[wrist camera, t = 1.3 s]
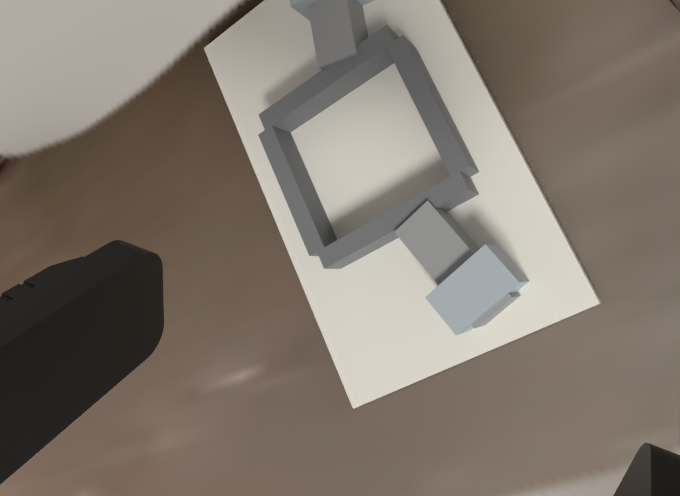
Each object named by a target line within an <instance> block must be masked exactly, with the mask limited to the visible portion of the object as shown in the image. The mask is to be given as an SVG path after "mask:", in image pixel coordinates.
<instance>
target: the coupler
mask: <svg viewBox="0 0 680 496" xmlns="http://www.w3.org/2000/svg"><path fill="white" fill-rule="evenodd" d="M672 1H673V3H674V4H675V5H676V7H677V8H678V9H679V10H680V0H672Z"/></svg>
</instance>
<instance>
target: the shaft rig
mask: <svg viewBox="0 0 680 496" xmlns="http://www.w3.org/2000/svg"><path fill="white" fill-rule="evenodd" d="M204 50H205V52H206V55H207V57H208V60H209V62H210V64H211V67H212V69H213V72H214V74H215V77H216V79H217V81H218V84H219V86H220V89H221V91H222V93H223V96H224V98H225V101H226V103H227V105H228V108H229V110H230V113H231V115H232V118H233V120H234V122H235V125H236V127H237V130H238V132H239V134H240V137H241V139H242V142H243V144H244V147H245V149H246V151H247V154H248V156H249V159H250V161H251V163H252V166H253V168H254V171H255V173H256V175H257V178H258V180H259V183H260V185H261V188H262V190H263V192H264V195H265V197H266V200H267V202H268V204H269V207H270V209H271V212H272V214H273V216H274V219H275V221H276V224H277V226H278V229H279V231H280V233H281V236H282V238H283V241H284V243H285V245H286V248H287V250H288V253H289V255H290V258H291V260H292V262H293V265H294V267H295V270H296V272H297V274H298V277H299V279H300V282H301V284H302V286H303V289H304V291H305V294H306V296H307V299H308V301H309V303H310V306H311V308H312V311H313V313H314V315H315V318H316V320H317V323H318V325H319V327H320V330H321V332H322V335H323V337H324V340H325V342H326V344H327V347H328V349H329V352H330V354H331V356H332V359H333V361H334V364H335V366H336V368H337V371H338V373H339V376H340V378H341V381H342V383H343V385H344V388H345V390H346V393H347V395H348V397H349V400H350V402H351V405H352V407H353V409H354V408H356V407H358V406H361V405H363V404H365V403H368V402H370V401H372V400H375V399H377V398H380V397H382V396H384V395H387V394H389V393H391V392H394V391H396V390H398V389H401V388H403V387H405V386H408V385H410V384H412V383H415V382H417V381H419V380H422V379H424V378H426V377H429V376H431V375H433V374H436V373H438V372H440V371H443V370H445V369H448V368H450V367H452V366H455V365H457V364H459V363H462V362H464V361H466V360H469V359H471V358H473V357H476V356H478V355H480V354H483V353H485V352H487V351H490V350H492V349H494V348H497V347H499V346H501V345H504V344H506V343H509V342H511V341H513V340H516V339H518V338H520V337H523V336H525V335H527V334H530V333H532V332H534V331H537V330H539V329H541V328H544V327H546V326H548V325H551V324H553V323H555V322H558V321H560V320H562V319H565V318H567V317H569V316H572V315H574V314H577V313H579V312H581V311H584V310H586V309H588V308H591V307H593V306H595V305H598V304H600V303H601V301H600V299H599V297H598V295H597V293H596V291H595V289H594V288H593V286H592V284H591V282H590V280H589V278H588V276H587V274H586V273H585V271H584V269H583V267H582V265H581V263H580V261H579V259H578V257H577V256H576V254H575V252H574V250H573V248H572V246H571V244H570V242H569V241H568V239H567V237H566V235H565V233H564V231H563V229H562V227H561V225H560V224H559V222H558V220H557V218H556V216H555V214H554V212H553V210H552V209H551V207H550V205H549V203H548V201H547V199H546V197H545V195H544V193H543V192H542V190H541V188H540V186H539V184H538V182H537V180H536V178H535V177H534V175H533V173H532V171H531V169H530V167H529V165H528V163H527V161H526V160H525V158H524V156H523V154H522V152H521V150H520V148H519V146H518V145H517V143H516V141H515V139H514V137H513V135H512V133H511V131H510V129H509V128H508V126H507V124H506V122H505V120H504V118H503V116H502V114H501V113H500V111H499V109H498V107H497V105H496V103H495V101H494V99H493V98H492V96H491V94H490V92H489V90H488V88H487V86H486V84H485V82H484V81H483V79H482V77H481V75H480V73H479V71H478V69H477V67H476V66H475V64H474V62H473V60H472V58H471V56H470V54H469V52H468V50H467V49H466V47H465V45H464V43H463V41H462V39H461V37H460V35H459V34H458V32H457V30H456V28H455V26H454V24H453V22H452V20H451V18H450V17H449V15H448V13H447V11H446V9H445V7H444V5H443V3H442V2H441V0H264V1H263V2H261V3H260V4H259V5H258V6H256V7H255V8H254V9H252V10H251V11H250V12H249V13H247V14H246V15H245V16H244V17H242V18H241V19H240V20H239V21H237V22H236V23H235V24H234V25H232V26H231V27H230V28H229V29H227V30H226V31H225V32H224V33H222V34H221V35H220V36H218V37H217V38H216V39H215V40H213V41H212V42H211V43H210V44H208V45H207V46H206V47H205V48H204Z"/></svg>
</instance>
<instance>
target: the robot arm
mask: <svg viewBox="0 0 680 496" xmlns="http://www.w3.org/2000/svg"><path fill="white" fill-rule="evenodd" d="M163 327H164V309H163V268H162V261H161V259H160V257H159V256H158V255H157V254H155V253H153V252H150V251H148V250H145V249H143V248H140V247H137V246H135V245H132V244H129V243H127V242H124V241H121V240H115V241H112V242H110V243H108V244H106V245H104V246H103V247H101V248H99V249H98V250H96V251H94V252H92V253H91V254H89V255H87V256H86V257H79V258H76V259H72V260H69V261H66V262H62V263H59V264H55V265H52V266H50V267H48V268H46V269H44V270H42V271H41V272H39V273H37V274H35V275H34V276H32V277H30V278H28V279H27V280H25V281H24V283H23V285H20V284H18V285H16V286H14V287H12V288H11V289H9V290H7V291H5V292H4V293H2V296H1V297H0V484H1V483H3V482H4V481H5V480H6V479H7V478H8V477H9V476H11V475H12V474H13V473H14V472H15V471H16V470H18V469H19V468H20V467H21V466H22V465H23V464H25V463H26V462H27V461H28V460H29V459H30V458H32V457H33V456H34V455H35V454H36V453H37V452H39V451H40V450H41V449H42V448H43V447H44V446H46V445H47V444H48V443H49V442H50V441H51V440H53V439H54V438H55V437H56V436H57V435H58V434H60V433H61V432H62V431H63V430H64V429H65V428H67V427H68V426H69V425H70V424H71V423H72V422H74V421H75V420H76V419H77V418H78V417H79V416H81V415H82V414H83V413H84V412H85V411H86V410H87V409H89V408H90V407H91V406H92V405H93V404H94V403H96V402H97V401H98V400H99V399H100V398H101V397H103V396H104V395H105V394H106V393H107V392H108V391H110V390H111V389H112V388H113V387H114V386H115V385H117V384H118V383H119V382H120V381H121V380H122V379H124V378H125V377H126V376H127V375H128V374H129V373H131V372H132V371H133V370H134V369H135V368H136V367H138V366H139V365H140V364H141V363H142V362H143V361H145V360H146V359H147V358H148V357H149V356H150V355H151V354H152V352H153V351H154V350H155V348H156V347H157V345H158V343H159V341H160V338H161V336H162V332H163ZM614 496H680V455H678V454H675V453H673V452H670V451H667V450H665V449H662V448H659V447H657V446H654V445H652V444H649V443H645V444H643V445H642V446H641V447H640V449H639V450H638V452H637V454H636V455H635V457H634V459H633V461H632V463H631V465H630V466H629V468H628V470H627V472H626V474H625V476H624V477H623V479H622V481H621V483H620V485H619V487H618V489H617V490H616V492H615V494H614Z"/></svg>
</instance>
